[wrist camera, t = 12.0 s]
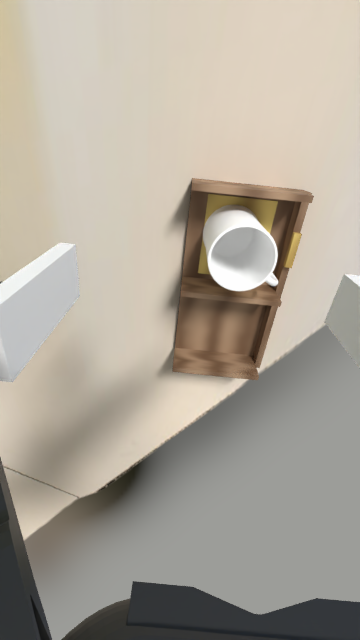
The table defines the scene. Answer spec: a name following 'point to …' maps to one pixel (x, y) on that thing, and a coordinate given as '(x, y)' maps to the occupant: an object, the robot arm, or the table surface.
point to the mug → (239, 249)
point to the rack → (226, 305)
